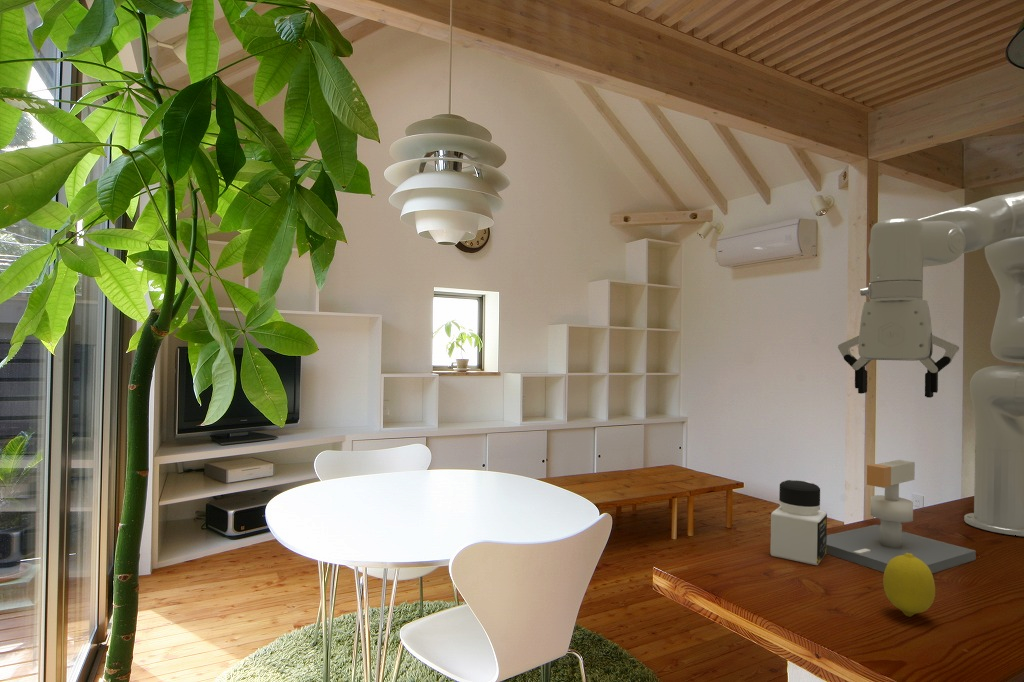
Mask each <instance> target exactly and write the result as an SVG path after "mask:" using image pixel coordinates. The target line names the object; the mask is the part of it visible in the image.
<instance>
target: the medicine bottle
mask: <svg viewBox="0 0 1024 682" xmlns="http://www.w3.org/2000/svg"><path fill="white" fill-rule="evenodd" d="M778 492H779V496H778V497H779V500H778V501H779V502H778V503H779V506H778V507H776V508H775V510H773V511H772V512H771V514H770V555H771V556H772V557H775V558H780V559H785V560H790V561H795V562H798V563H799V562H800V563H804V564H808V565H812V566H819V564H820V563H821V561H822V560H823V559H824V557H825V556H826V555H827V554H826V540H827V535H828V534H827V531H828V527H827V526H828V513H827V512H826V511H824V510H820V509H821V488H820V487H819V485H817V484H815V483H813V482H811V481H806V480H801V479H800V480H799V479H789V480H788V479H787V480H784V481H781V482H780V483H779V491H778Z"/></svg>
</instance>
